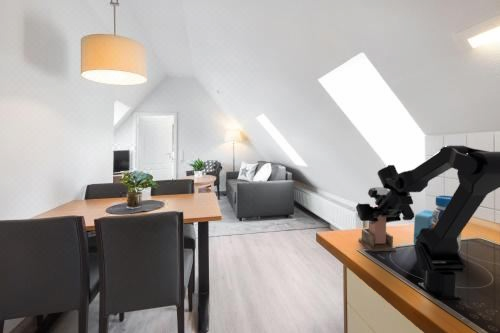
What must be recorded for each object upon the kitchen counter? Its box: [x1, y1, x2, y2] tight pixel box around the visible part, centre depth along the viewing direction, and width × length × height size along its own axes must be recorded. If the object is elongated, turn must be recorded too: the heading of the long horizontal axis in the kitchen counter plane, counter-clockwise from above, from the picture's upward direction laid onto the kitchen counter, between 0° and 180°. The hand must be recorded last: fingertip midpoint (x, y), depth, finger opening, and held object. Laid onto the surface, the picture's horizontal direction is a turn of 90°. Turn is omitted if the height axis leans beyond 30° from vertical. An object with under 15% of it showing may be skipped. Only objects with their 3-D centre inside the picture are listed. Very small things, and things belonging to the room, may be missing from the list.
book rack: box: [358, 227, 397, 252], centre depth 94 cm, size 10×9×5 cm
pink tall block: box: [368, 205, 387, 244], centre depth 94 cm, size 5×4×13 cm
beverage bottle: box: [431, 195, 462, 256], centre depth 86 cm, size 8×8×20 cm
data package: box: [413, 209, 434, 245], centre depth 95 cm, size 12×4×12 cm, turn 127°
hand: (375, 222), depth 95 cm, fingers closed on pink tall block, 4 cm apart
